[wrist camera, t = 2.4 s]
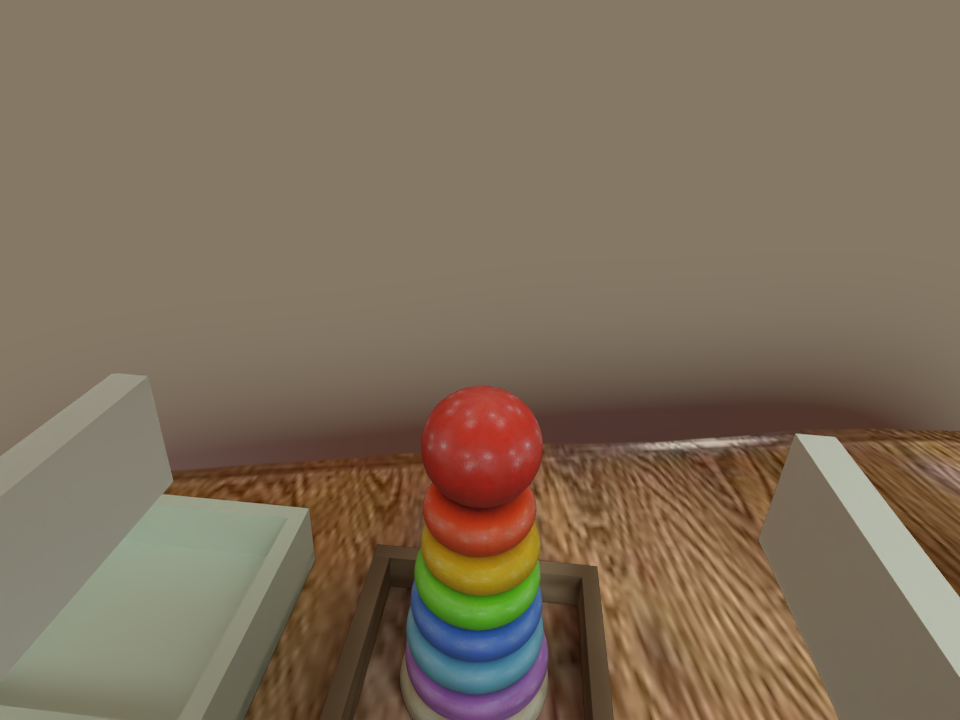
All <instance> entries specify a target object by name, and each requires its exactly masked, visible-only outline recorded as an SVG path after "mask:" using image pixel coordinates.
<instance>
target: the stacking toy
mask: <svg viewBox="0 0 960 720" xmlns="http://www.w3.org/2000/svg"><path fill="white" fill-rule="evenodd" d="M542 451H543V443H542V436H541V431H540V427H539V425H538V422H537V420H536V419H535V416H534V415H533V413H532V412H531V410H530V409H529V408H528V406H527V405H526V404H525V403H524V402H522V401H521V400H520V399H519V398H518V397H516V396H515V395H513V394H512V393H509V392H507V391H505V390H502V389H499V388H495V387H491V386H473V387H468V388H464V389H461V390H459V391H456V392H454V393H452V394H450V395H449V396H448V397H446V398H445V399H443V400H442V401H441V402H440V403H439V404H438V405H437V406H436V407H435V408H434V410H433V411H432V412H431V414H430V415H429V417H428V419H427V421H426V424H425V427H424V430H423V434H422V440H421V453H422V460H423V463H424V467H425V470H426V472H427V474H428V476H429V478H430V479H431V481H432V483H431V484H430V486H429V487H428V489H427V491H426V494H425V497H424V502H423V515H424V520H425V525H424V527H423V530H422V535H421V548H420V550H419V553H418V555H417V558H416V562H415V570H414V575H415V580H414V583H413V586H412V591H411V606H410V608H409V612H408V616H407V624H406V635H407V642H406V649H405V653H404V656H403V659H402V663H401V670H400V687H401V692H402V697H403V700H404V703H405V706H406V708H407V710H408V712H409V714H410V716H411V717H412V719H413V720H536V719H537V717H538V715H539V713H540V711H541V709H542V707H543V704H544V702H545V698H546V694H547V689H548V670H547V667H548V658H549V654H548V644H547V640H546V636H545V633H544V630H543V619H542V614H541V613H542V593H541V589H540V585H539V584H540V565H539V560H538V559H539V556H540V547H541V542H540V536H539V532H538V529H537V526H536V524H535V522H534V520H535V516H536V501H535V497H534V494H533V492H532V490H531V488H530V486H529V485H530V484H531V482H532V480H533V479H534V477H535V476H536V474H537V472H538V469H539V466H540V463H541V459H542Z"/></svg>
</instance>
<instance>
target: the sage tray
mask: <svg viewBox="0 0 960 720" xmlns="http://www.w3.org/2000/svg"><path fill="white" fill-rule="evenodd" d="M314 561H315V555H314V546H313V538H312V529H311V521H310V512H309V508H300V507H289V506H279V505H269V504H258V503H248V502H238V501H228V500H217V499H207V498H197V497H186V496H176V495H166V494H162V495H161V496H160V497H159V498H158V500H157V501H156V502H155V503H154V504H153V505H152V506H151V508H150V509H149V510H148V511H147V512H146V513H145V515H144V516H143V517H142V518H141V519H140V520H139V522H138V523H137V524H136V525H135V526H134V527H133V528H132V530H131V531H130V532H129V533H128V534H127V535H126V537H125V538H124V539H123V540H122V541H121V542H120V544H119V545H118V546H117V547H116V548H115V549H114V550H113V552H112V553H111V554H110V555H109V556H108V557H107V559H106V560H105V561H104V562H103V563H102V564H101V565H100V567H99V568H98V569H97V570H96V571H95V572H94V574H93V575H92V576H91V577H90V578H89V579H88V581H87V582H86V583H85V584H84V585H83V586H82V587H81V589H80V590H79V591H78V592H77V593H76V594H75V596H74V597H73V598H72V599H71V600H70V601H69V603H68V604H67V605H66V606H65V607H64V608H63V609H62V611H61V612H60V613H59V614H58V615H57V616H56V618H55V619H54V620H53V621H52V622H51V623H50V625H49V626H48V627H47V628H46V629H45V630H44V631H43V633H42V634H41V635H40V636H39V637H38V638H37V640H36V641H35V642H34V643H33V644H32V645H31V646H30V648H29V649H28V650H27V651H26V652H25V653H24V655H23V656H22V657H21V658H20V659H19V660H18V662H17V663H16V664H15V665H14V666H13V667H12V668H11V670H10V671H9V672H8V673H7V674H6V675H5V677H4V678H3V679H2V680H1V681H0V720H244V718H245V716H246V714H247V711H248V709H249V707H250V705H251V702H252V700H253V698H254V696H255V693H256V691H257V689H258V687H259V684H260V682H261V680H262V678H263V675H264V673H265V671H266V669H267V666H268V664H269V662H270V660H271V658H272V655H273V653H274V651H275V649H276V646H277V644H278V642H279V640H280V637H281V635H282V633H283V631H284V628H285V626H286V624H287V622H288V619H289V617H290V615H291V613H292V610H293V608H294V606H295V604H296V602H297V599H298V597H299V595H300V593H301V590H302V588H303V586H304V584H305V581H306V579H307V577H308V575H309V572H310V570H311V568H312V566H313V563H314Z"/></svg>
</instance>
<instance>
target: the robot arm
mask: <svg viewBox="0 0 960 720" xmlns="http://www.w3.org/2000/svg"><path fill="white" fill-rule="evenodd" d="M172 482H173V478H172V474H171V470H170V466H169V462H168V458H167V453H166V449H165V445H164V441H163V437H162V432H161V428H160V424H159V420H158V416H157V412H156V407H155V403H154V399H153V395H152V390H151V387H150V382H149V378H148V376H140V375H129V374H117V373H112V374H111V375H110V376H108V377H107V378H105V379H104V380H103V381H102V382H100V383H99V384H97V385H96V386H95V387H93V388H92V389H91V390H89V391H88V392H87V393H85V394H84V395H83V396H81V397H80V398H78V399H77V400H76V401H75V402H73V403H72V404H71V405H69V406H68V407H67V408H65V409H64V410H62V411H61V412H60V413H58V414H57V415H56V416H54V417H53V418H52V419H50V420H49V421H47V422H46V423H45V424H43V425H42V426H41V427H40V428H38V429H37V430H35V431H34V432H33V433H32V434H30V435H29V436H27V437H26V438H25V439H23V440H22V441H21V442H19V443H18V444H16V445H15V446H14V447H12V448H11V449H10V450H8V451H7V452H6V453H5V454H3V455H2V456H0V681H1V680H2V679H3V678H4V677H5V675H6V674H7V673H8V672H9V671H10V670H11V668H12V667H13V666H14V665H15V664H16V663H17V662H18V660H19V659H20V658H21V657H22V656H23V655H24V653H25V652H26V651H27V650H28V649H29V648H30V646H31V645H32V644H33V643H34V642H35V641H36V640H37V638H38V637H39V636H40V635H41V634H42V633H43V631H44V630H45V629H46V628H47V627H48V626H49V625H50V623H51V622H52V621H53V620H54V619H55V618H56V616H57V615H58V614H59V613H60V612H61V611H62V609H63V608H64V607H65V606H66V605H67V604H68V603H69V601H70V600H71V599H72V598H73V597H74V596H75V594H76V593H77V592H78V591H79V590H80V589H81V587H82V586H83V585H84V584H85V583H86V582H87V581H88V579H89V578H90V577H91V576H92V575H93V574H94V572H95V571H96V570H97V569H98V568H99V567H100V565H101V564H102V563H103V562H104V561H105V560H106V559H107V557H108V556H109V555H110V554H111V553H112V552H113V550H114V549H115V548H116V547H117V546H118V545H119V544H120V542H121V541H122V540H123V539H124V538H125V537H126V535H127V534H128V533H129V532H130V531H131V530H132V528H133V527H134V526H135V525H136V524H137V523H138V522H139V520H140V519H141V518H142V517H143V516H144V515H145V513H146V512H147V511H148V510H149V509H150V508H151V506H152V505H153V504H154V503H155V502H156V501H157V500H158V498H159V497H160V496H161V495H162V494H163V493H164V491H165V490H166V489H167V488H168V487H169V486H170V484H171V483H172ZM758 540H759V542H760V544H761V547H762V549H763V551H764V553H765V555H766V558H767V560H768V562H769V564H770V567H771V569H772V571H773V573H774V575H775V578H776V580H777V582H778V584H779V587H780V589H781V591H782V593H783V595H784V598H785V600H786V602H787V604H788V607H789V609H790V611H791V613H792V615H793V618H794V620H795V622H796V624H797V627H798V629H799V631H800V633H801V636H802V638H803V640H804V642H805V644H806V647H807V649H808V651H809V653H810V656H811V658H812V660H813V662H814V664H815V667H816V669H817V671H818V673H819V676H820V678H821V680H822V682H823V684H824V687H825V689H826V691H827V693H828V696H829V698H830V700H831V702H832V704H833V707H834V709H835V711H836V713H837V716H838V718H839V720H960V597H959V596H958V594H957V593H956V592H955V591H954V589H953V588H952V587H951V585H950V584H949V583H948V582H947V580H946V579H945V578H944V576H943V575H942V574H941V572H940V571H939V570H938V569H937V567H936V566H935V565H934V563H933V562H932V561H931V560H930V558H929V557H928V556H927V554H926V553H925V552H924V550H923V549H922V548H921V547H920V545H919V544H918V543H917V541H916V540H915V539H914V538H913V536H912V535H911V534H910V532H909V531H908V530H907V529H906V527H905V526H904V525H903V523H902V522H901V521H900V519H899V518H898V517H897V516H896V514H895V513H894V512H893V510H892V509H891V508H890V507H889V505H888V504H887V503H886V501H885V500H884V499H883V497H882V496H881V495H880V494H879V492H878V491H877V490H876V488H875V487H874V486H873V485H872V483H871V482H870V481H869V479H868V478H867V477H866V475H865V474H864V473H863V472H862V470H861V469H860V468H859V466H858V465H857V464H856V463H855V461H854V460H853V459H852V457H851V456H850V455H849V454H848V452H847V451H846V450H845V448H844V447H843V446H842V444H841V443H840V442H839V441H838V439H837V438H836V437H828V436H817V435H806V434H795V436H794V439H793V442H792V445H791V448H790V450H789V453H788V456H787V459H786V462H785V465H784V468H783V470H782V473H781V476H780V479H779V482H778V485H777V488H776V490H775V493H774V496H773V499H772V502H771V505H770V507H769V510H768V513H767V516H766V519H765V522H764V525H763V527H762V530H761V533H760V536H759V539H758Z"/></svg>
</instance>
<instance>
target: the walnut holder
mask: <svg viewBox="0 0 960 720" xmlns="http://www.w3.org/2000/svg"><path fill="white" fill-rule="evenodd" d="M419 550H420V549H419V548H409V547H399V546H389V545H379V544H378V545H377V548H376V551H375V554H374V557H373V560H372V563H371V566H370V569H369V572H368V575H367V578H366V581H365V584H364V587H363V590H362V593H361V596H360V599H359V602H358V605H357V608H356V611H355V614H354V617H353V620H352V623H351V626H350V629H349V632H348V635H347V638H346V641H345V644H344V647H343V650H342V653H341V656H340V659H339V662H338V665H337V668H336V671H335V674H334V677H333V680H332V683H331V686H330V689H329V692H328V695H327V698H326V701H325V704H324V707H323V710H322V713H321V716H320V719H319V720H353V717H354V713H355V710H356V706H357V703H358V699H359V696H360V692H361V689H362V685H363V682H364V678H365V675H366V671H367V667H368V664H369V660H370V657H371V653H372V650H373V646H374V643H375V639H376V636H377V632H378V629H379V625H380V621H381V618H382V614H383V611H384V607H385V604H386V600H387V597H388V593H389V590H390V586H396V587H405V588H412V586H413V583H414V580H415V575H414V570H415V562H416V558H417V555H418V553H419ZM539 565H540V584H539V585H540V589H541V593H542V602H549V603H559V604H568V605H577V609H578V624H579V639H580V654H581V670H582V685H583V700H584V716H585V720H614V716H613V707H612V698H611V689H610V680H609V670H608V661H607V652H606V643H605V634H604V625H603V615H602V606H601V597H600V588H599V579H598V570H597V566H589V565H579V564H569V563H559V562H549V561H539Z"/></svg>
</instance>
